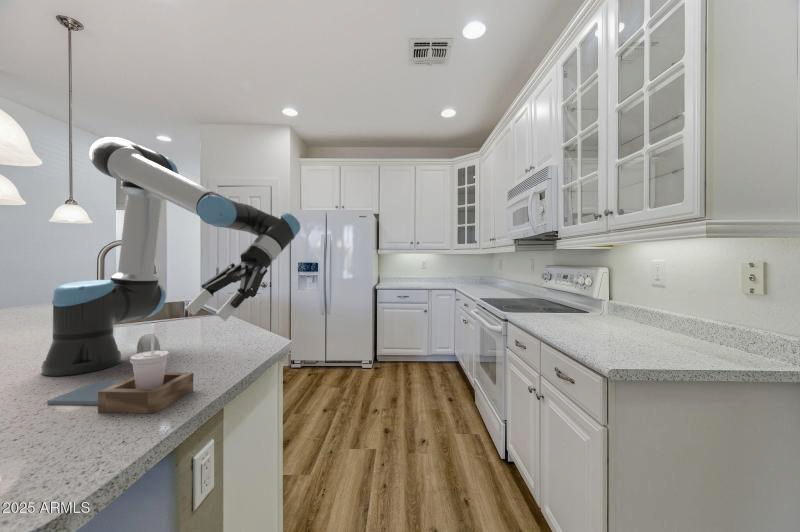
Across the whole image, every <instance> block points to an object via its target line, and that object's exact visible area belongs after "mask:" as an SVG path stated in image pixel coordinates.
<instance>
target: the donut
mask: <svg viewBox="0 0 800 532" xmlns="http://www.w3.org/2000/svg"><path fill="white" fill-rule="evenodd" d="M151 334H152V333H146V334H143V335H142V336H141V337H139V339H138V341H137V345H136V354H138V353H143V352H148V351H151ZM154 351H161V345H160V341H159V340H158V338H157V336H156V335H155V337H154Z"/></svg>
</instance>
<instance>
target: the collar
mask: <svg viewBox="0 0 800 532" xmlns="http://www.w3.org/2000/svg"><path fill="white" fill-rule="evenodd" d="M121 381H122V382H120V383H117V384H115V385H113V386H110V387H108V388H106V389H103V390H101V391H98V405H97V413H103V412H105V413H107V414H108V413H110V414H111V413H114V414H115V413H118V414H121V413H122V414H156V413H158V412H160V411H161V410H163V409H165V408H166V407H169V406H170V405H171V404H174V403H175V402H177V400H179V399H181V398H182V397H184V396H186V395H188V394H190V393H191V392H193V391H194V372H177V371H176V372H175V371H173V372H171V371H168V372H167V371H165V375H164V381H163V385H161V386H159V387H157V388H155V389H136V385H135V378H134V376H131V377H130V378H127V379H124V380H121Z"/></svg>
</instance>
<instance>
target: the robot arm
mask: <svg viewBox="0 0 800 532" xmlns="http://www.w3.org/2000/svg"><path fill="white" fill-rule="evenodd" d="M89 158H90V161H91V163H92V164H93V166H94V167H95V168H96V169H97V170H98V171H99V172H101V173H102V174H104V175H106V176H107V177H111V178H113V179H116V181H120V189H121V190H122V191H123V192H124V193H125V195H126V198H125V205H124V217H123V223H122V224H123V226H122V231H121V232H122V235H121V243H120V253H119V259H118V269H117V270H118V271H117V272H116V273H114V274H112V275H111V276H110V279H93V280H82V281H75V282H68V283H64V284H61V285H59V286H57V287H55V289H54V291H53V298H52V299H53V300H52V301H51V303H52V304H51V305H52V342H51V345H50V347H49V349H48V351H47V354H46V358H45V360H44V361H43V362H42V363H41V374H42V375H44V376H51V377H58V376H59V377H61V376H71V375H80V374H85V373H91V372H96V371H101V370H104V369H108V368H111V367H114V366H116V365H118V364H120V363H121V361H122V353H121V351H120V350H119V347H118V345H117V342H116V339H115V336H114V324H117V323H123V322H128V321H134V320H141V319H142V320H143V319H145V318H148V317H152V316H153V315H156V314H157V313H158V312H160V311H161V309H162V308H163V306H164V305H165V302H166V290H164V287H163V286H162V285H161V284H159V277H157V275H155V272H154V271H155V262H156V261H155V260H156V253H157V244H158V235H159V225H160V215H161V207H162V201H163V200H167V202H170V203H172V204H174V205H176V206H178V207H180V208H182V209H185V210H186V211H188V212H190V213H192V214H194V215H196V216H199V218H200V219H201V221H202V222H203V223H205V224H207V225H210V226H213V227H217V228H226V229H229V230H230V229H231V230H236V231H242V232H246V233H249V234H251V235H254V236H257V237H256V238H255V239H254V241H252V242H251V244H250V245H248V246H247V247H246V249H245V250H244V251H243V252H242V253H241V254H240V262H239V263H238V264H236V265H235V263H234V262H231V263H230V264H229V265H228V266H226V268H224V269H222V271H220V272H218V273H216V275H213V277H211V278H210V279H208V280H207V281H205V282H204V283H202V284H201V286H200V287H201V288H202V290H201V292H199V293H198V294H197V295H196V296H195V297H194V298H193V300H191V301H190V302H189V303H188V304H187V305H186V306H185V307H184V309H185V310H186V311H187V312H189V314H190V315H192V316H195V315H196V314H197V313H199V311H200V310H201V309H202V308H203V307H204V306H205V305H206V304H207V303H208V302H209V301H210V299H212V297H214V294H215V293H216V292H218V291H220V290H221V289H223V288H225V287H227V286H228V285H230V284H232V283H234V284H235V283H237V282H239V281H240V284H239V288H237V289H236V291H235V292H234V293H233V294H232V295H231V296H230V297H229V298H228V299H227V300H226V302H224V304H223V305H221V307H220V308H219V309H218V310H217V311H216V312H215V315H217V316H218V317H219V318H221V320H222V321H225V322H226V321H227V320H228V319H229V318H230V317H231V316H232V314H233V313H235V311H236V310H237V309H238V307H239V306H241V304H242V303H243V302H244V301H245V300H247V299H249V298H250V297H251V298H254V297H256V296H257V294H258V292H259V289H260V287H261V284H262V281H263V279H264V276H265V275H266V274H267V272H268V268H269V267H270V265H271V264H272V263H273V262H274V261H275V260H276V259H277V258H278V257H279V255H280V254H281V253H282V252H283V250H284V249H285V248H286V247H288V245H289V244H290V243H291V242H292V241H293V240H294V239H295V237H296V236H297V235H298V233H300V231H301V225H300V222H299V220H298V219H297V218H296V217H295V216H294V215H293V214H291V213H288V212H283V213H280V214H279V215H278V216H275V215H273V214H269V213H268V212H265V211H262V210H260V209H258V208H256V207H254V206H252V205H249V204H246V203H243V202H237V201H234V200H233V199H230V198H227V197H225V196H223V195H222V194H219V193H217V192H216V191H215V192H214V191H213V190H211V189H208V188H207V187H204V186H202V185H200V184H199V183H196V182H194V181H192V180H190V179H188V178H186V177H184V176H182V175H180V174H179V170H178V167H177V165H176V164H175V163H174V162H173V160H172V159H170V158H169V157H167V156H165V155H163V154H162V153H159V152H158V151H155V150H152V149H150V148H146V147H144V146H143V145H140V144H137V143H134V142H132V141H130V140H128V139H125V138H122V137H116V136H115V137H114V136H106V137H103V138H99V139H98V140H96V141H95V142H94V143H93V144H92V145H91V146H90V149H89Z"/></svg>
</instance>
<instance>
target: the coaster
mask: <svg viewBox="0 0 800 532" xmlns="http://www.w3.org/2000/svg"><path fill="white" fill-rule="evenodd" d="M122 381H123V380H110V379H106V380H105V379H103V380H101V379H99V380H97V381H94V382H92V383H89V384H87V385H84V386H82V387H79V388H77V389H74V390H71V391H69V392H65V393H63V394H61V395H58V396H55V397H53V398H50V399H48V400H46V401H47V405H55V406H56V405H57V406H58V405H60V406H62V405H63V406H65V405H67V406H68V405H69V406H98V391H101V390H103V389H106V388H108V387H110V386H113V385H115V384H117V383H120V382H122ZM85 404H86V405H85Z"/></svg>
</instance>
